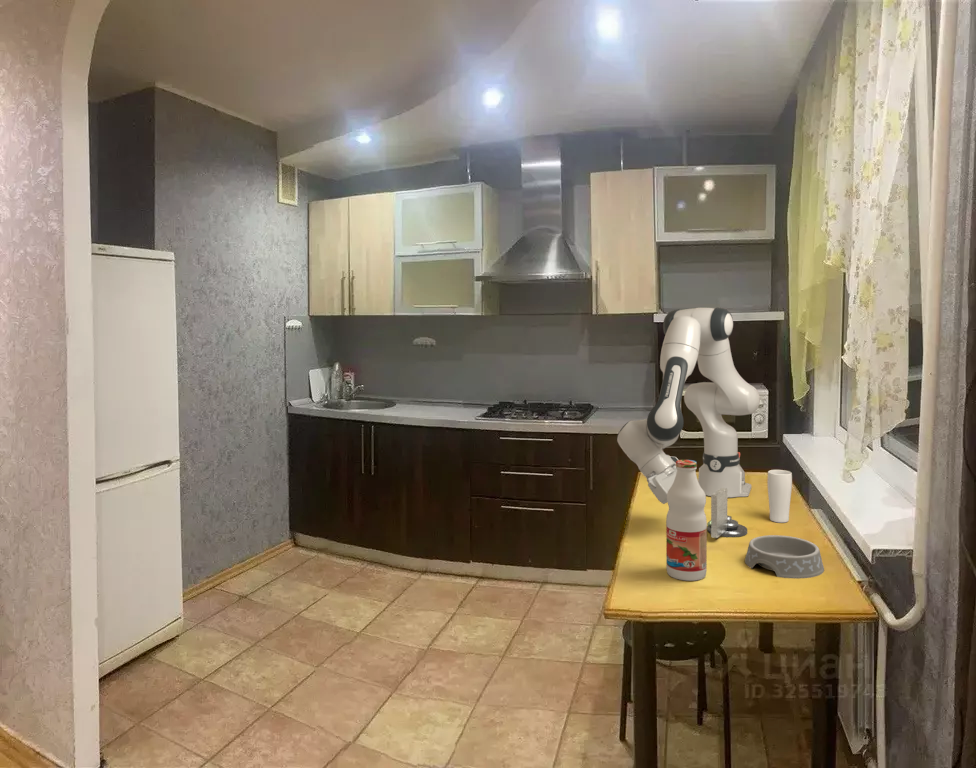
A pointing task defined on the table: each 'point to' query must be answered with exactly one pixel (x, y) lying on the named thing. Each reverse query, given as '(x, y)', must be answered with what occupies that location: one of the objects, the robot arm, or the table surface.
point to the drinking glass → (779, 494)
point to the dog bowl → (785, 556)
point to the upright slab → (720, 514)
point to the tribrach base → (731, 531)
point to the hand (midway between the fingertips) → (691, 506)
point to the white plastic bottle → (686, 525)
